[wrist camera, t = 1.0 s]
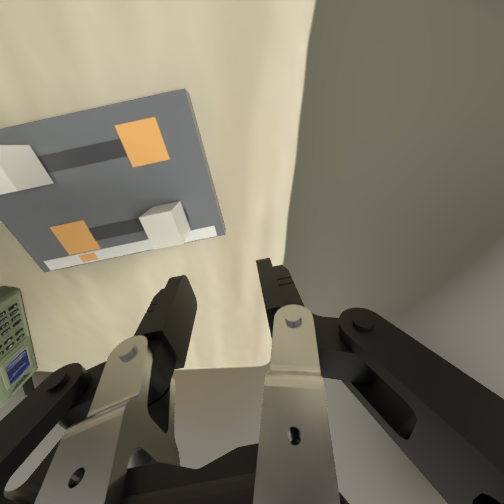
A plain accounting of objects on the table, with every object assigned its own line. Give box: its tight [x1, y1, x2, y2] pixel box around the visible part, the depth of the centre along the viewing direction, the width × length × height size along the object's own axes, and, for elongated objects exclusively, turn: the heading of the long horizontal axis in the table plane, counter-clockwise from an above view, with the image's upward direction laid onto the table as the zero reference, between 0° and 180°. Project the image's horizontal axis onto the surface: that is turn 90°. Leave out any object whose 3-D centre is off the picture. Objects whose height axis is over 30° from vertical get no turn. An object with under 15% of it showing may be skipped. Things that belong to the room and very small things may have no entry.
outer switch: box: [139, 201, 191, 250], centre depth 22 cm, size 4×3×4 cm
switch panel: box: [0, 89, 226, 272], centre depth 23 cm, size 15×24×2 cm, turn 101°
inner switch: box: [0, 145, 53, 195], centre depth 18 cm, size 4×3×4 cm
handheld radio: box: [0, 286, 37, 408], centre depth 31 cm, size 7×3×25 cm
